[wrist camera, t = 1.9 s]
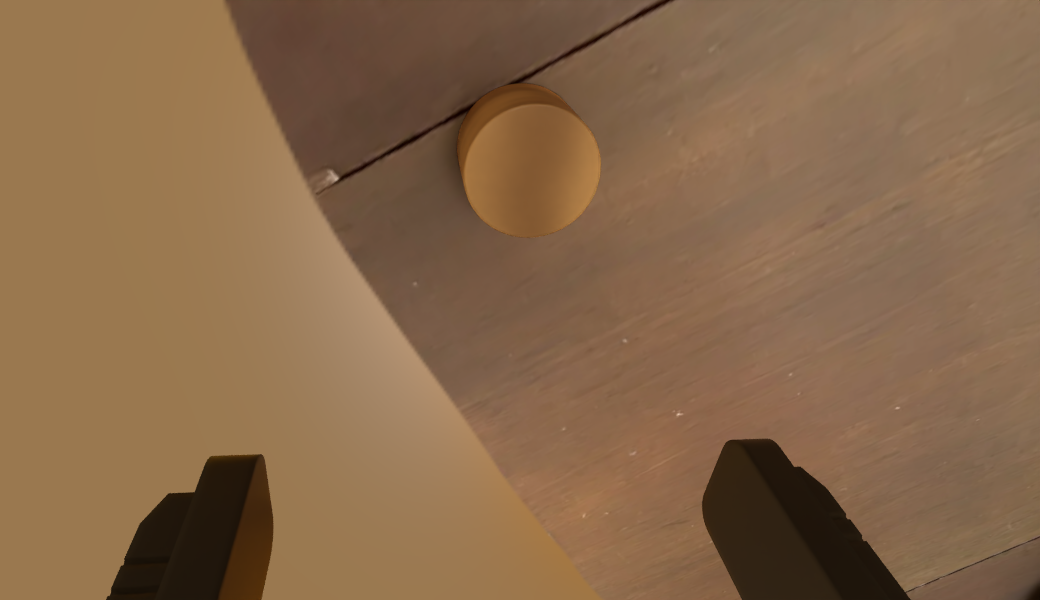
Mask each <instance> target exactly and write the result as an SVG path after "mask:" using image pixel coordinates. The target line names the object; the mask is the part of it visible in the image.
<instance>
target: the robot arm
mask: <svg viewBox="0 0 1040 600" xmlns="http://www.w3.org/2000/svg"><path fill="white" fill-rule="evenodd" d="M702 511H703V518H704V522H705V525H706V528H707V530H708V533H709V535H710V536H711V538H712V540H713V542H714V544H715V546H716V548H717V550H718V552H719V554H720V556H721V558H722V560H723V562H724V564H725V566H726V568H727V570H728V572H729V574H730V576H731V578H732V580H733V582H734V584H735V586H736V588H737V590H738V592H739V594H740V596H741V598H742V600H910V598H909V597H908V596H907V594H906V593H905V592H904V590H903V589H902V588H901V586H900V585H899V584H898V582H897V581H896V580H895V578H894V577H893V576H892V574H891V573H890V572H889V570H888V569H887V568H886V566H885V565H884V564H883V562H882V561H881V560H880V558H879V557H878V556H877V554H876V553H875V552H874V550H873V549H872V548H871V546H870V545H869V544H868V542H867V541H863V540H862V535H861V533H860V532H859V531H858V529H857V528H856V527H855V525H854V524H853V523H852V521H851V520H850V519H847V518H846V513H845V512H844V511H843V509H842V508H841V507H840V505H839V504H838V503H837V501H836V500H835V499H834V497H833V496H832V495H831V493H830V492H829V491H828V489H827V488H826V487H824V486H823V485H822V484H821V483H820V482H818V481H817V480H816V479H815V478H813V477H812V476H811V475H810V474H809V473H807V472H806V471H805V470H804V469H802V468H801V467H794V466H793V465H792V463H791V462H790V461H789V459H788V458H787V456H786V455H785V454H784V452H783V451H782V450H781V448H780V447H779V446H778V444H777V443H775V442H774V441H773V440H771V439H743V440H729V441H728V442H726V443H725V445H724V447H723V449H722V451H721V454H720V456H719V458H718V461H717V463H716V466H715V468H714V471H713V473H712V476H711V478H710V480H709V483H708V485H707V488H706V490H705V493H704V496H703V501H702ZM272 542H273V514H272V507H271V500H270V493H269V486H268V479H267V472H266V465H265V460H264V457H263V455H261V454H260V455H229V456H211V457H210V458H209V459H208V460H207V462H206V464H205V466H204V469H203V471H202V474H201V477H200V479H199V482H198V485H197V487H196V490H195V492H193V493H172V494H171V493H169V494H168V495H167V496H166V497H165V498H164V499H163V500H162V501H161V502H160V503H159V504H158V505H157V506H156V507H155V508H154V509H153V510H152V512H151V513H150V514H149V515H148V516H147V517H146V518H145V519H144V520H143V521H142V522H141V523H140V525H139V527H138V529H137V531H136V534H135V536H134V538H133V540H132V543H131V545H130V547H129V549H128V552H127V554H126V556H125V558H124V560H125V561H124V565H123V566H121V567H120V570H119V572H118V574H117V576H116V579H115V581H114V583H113V586H112V588H111V594H110V596H108V597H107V599H106V600H261V599H262V594H263V589H264V585H265V580H266V575H267V571H268V566H269V561H270V556H271V550H272Z"/></svg>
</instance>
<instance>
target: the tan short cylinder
mask: <svg viewBox="0 0 1040 600" xmlns="http://www.w3.org/2000/svg"><path fill="white" fill-rule="evenodd" d="M457 156H458V162H459V166H460V171H461V175H462V179H463V183H464V188H465V192H466V195H467V198H468V200H469V202H470V204H471V206H472V208H473V209H474V211H475V212H476V214H477V215H478V216H479V217H480V218H481V219H482V220H483V221H484V222H485V223H486V224H488V225H489V226H491V227H492V228H494V229H495V230H497V231H500V232H502V233H504V234H508V235H511V236H516V237H526V238H530V237H539V236H545V235H548V234H551V233H554V232H556V231H558V230H561V229H562V228H564V227H566V226H567V225H569V224H570V223H572V222H573V221H574V220H575V219H576V218H578V217H579V216H580V215H581V214H582V212H583V211H584V210H585V209H586V208H587V206H588V205H589V203H590V202H591V200H592V198H593V196H594V194H595V192H596V189H597V186H598V183H599V178H600V172H601V158H600V152H599V148H598V145H597V142H596V140H595V138H594V136H593V134H592V132H591V131H590V129H589V128H588V126H587V125H586V124H585V123H584V122H583V121H582V120H581V119H580V118H579V116H578V115H577V114H576V113H575V112H574V111H573V110H572V109H571V108H570V107H569V106H568V105H567V103H566V102H565V101H564V100H563V99H562V98H561V97H559V96H558V95H557V94H556V93H554V92H552V91H550V90H549V89H546V88H544V87H541V86H538V85H534V84H526V83H517V84H510V85H506V86H502V87H499V88H497V89H495V90H493V91H491V92H489V93H488V94H486V95H484V96H483V97H482V98H481V99H480V100H478V101H477V102H476V103H475V104H474V105H473V107H472V108H471V109H470V110H469V112H468V113H467V115H466V117H465V118H464V120H463V122H462V125H461V128H460V130H459V135H458V140H457Z"/></svg>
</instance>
